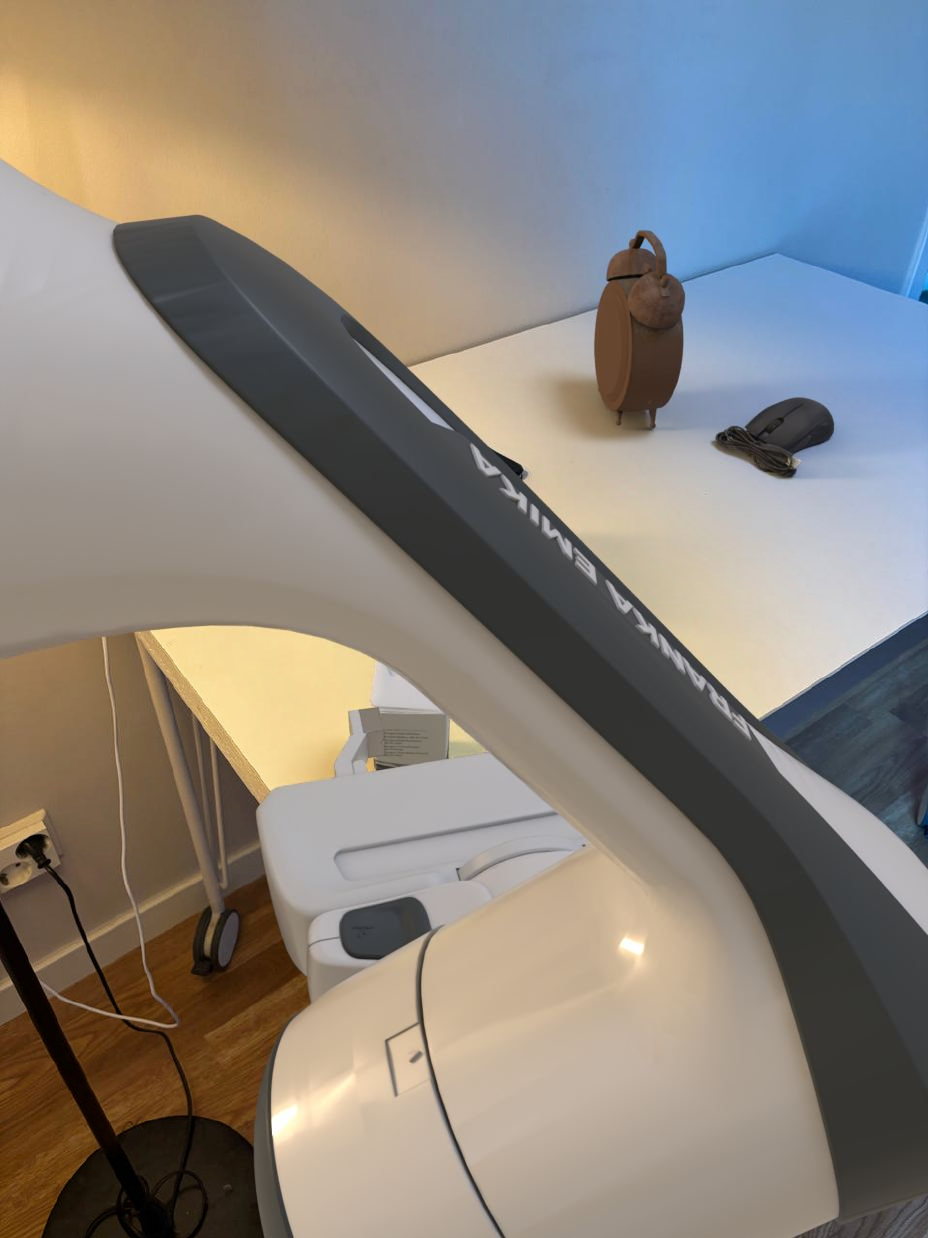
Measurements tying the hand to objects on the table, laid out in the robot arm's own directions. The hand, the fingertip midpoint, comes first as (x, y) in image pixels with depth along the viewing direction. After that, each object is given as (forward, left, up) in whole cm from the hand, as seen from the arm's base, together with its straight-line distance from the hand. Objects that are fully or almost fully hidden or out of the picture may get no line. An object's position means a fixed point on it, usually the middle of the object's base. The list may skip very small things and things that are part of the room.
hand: (459, 703), depth 46 cm
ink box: (0, +12, -20) cm, 24 cm away
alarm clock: (+35, +62, -20) cm, 74 cm away
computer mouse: (+50, +52, -20) cm, 74 cm away
